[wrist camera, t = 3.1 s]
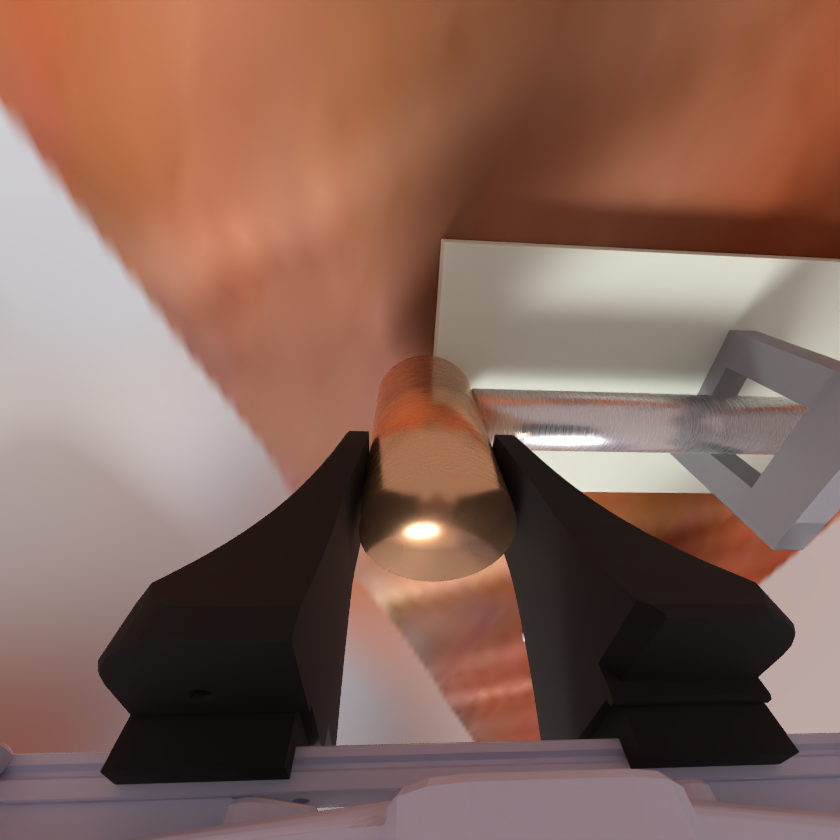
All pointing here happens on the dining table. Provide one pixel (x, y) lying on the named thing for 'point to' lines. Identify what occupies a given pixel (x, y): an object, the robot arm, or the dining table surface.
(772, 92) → the dining table surface
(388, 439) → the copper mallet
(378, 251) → the dining table surface
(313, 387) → the dining table surface
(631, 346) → the eye stand
